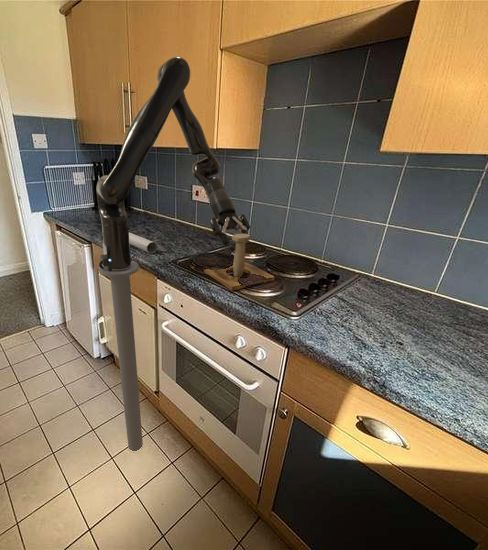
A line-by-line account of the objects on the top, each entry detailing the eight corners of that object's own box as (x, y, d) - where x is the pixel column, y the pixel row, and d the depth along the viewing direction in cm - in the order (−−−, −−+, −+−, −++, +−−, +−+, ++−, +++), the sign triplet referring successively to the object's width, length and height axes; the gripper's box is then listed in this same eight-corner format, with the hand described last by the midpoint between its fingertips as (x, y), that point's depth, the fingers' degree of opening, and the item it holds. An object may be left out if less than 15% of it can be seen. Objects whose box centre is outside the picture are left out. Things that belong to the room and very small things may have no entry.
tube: (116, 233, 144) (145, 245, 127) (125, 228, 147) (154, 239, 129) (120, 243, 147) (149, 256, 130) (129, 237, 150) (158, 249, 132)
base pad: (231, 290, 98) (232, 286, 97) (203, 271, 112) (203, 268, 111) (274, 280, 105) (274, 276, 105) (242, 263, 120) (243, 260, 119)
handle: (226, 275, 109) (229, 235, 103) (239, 271, 112) (242, 232, 106) (236, 280, 105) (239, 239, 99) (249, 275, 109) (252, 235, 103)
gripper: (208, 199, 103) (225, 240, 99) (242, 196, 110) (259, 234, 105) (200, 211, 110) (216, 250, 105) (232, 208, 116) (248, 245, 111)
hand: (237, 242), depth 105 cm, fingers open, 8 cm apart
